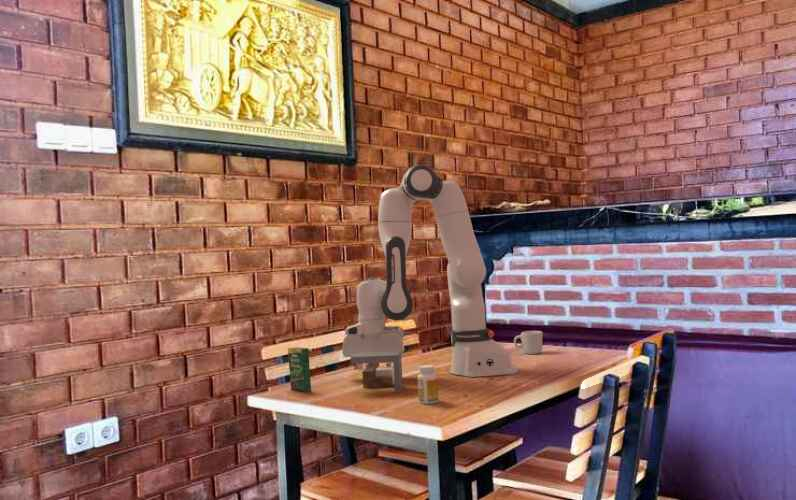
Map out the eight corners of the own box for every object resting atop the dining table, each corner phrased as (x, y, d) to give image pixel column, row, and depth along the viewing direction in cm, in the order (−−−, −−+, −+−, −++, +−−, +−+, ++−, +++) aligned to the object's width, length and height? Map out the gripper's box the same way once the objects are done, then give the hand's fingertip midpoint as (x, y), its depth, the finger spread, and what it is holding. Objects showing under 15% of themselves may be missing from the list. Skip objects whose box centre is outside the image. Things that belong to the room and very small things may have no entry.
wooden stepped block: (397, 376, 214) (396, 361, 214) (392, 386, 198) (391, 370, 198) (370, 377, 215) (369, 362, 215) (363, 387, 199) (362, 371, 199)
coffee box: (289, 389, 203) (287, 347, 203) (297, 387, 205) (295, 346, 205) (303, 392, 197) (301, 349, 197) (311, 390, 198) (309, 348, 198)
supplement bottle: (441, 399, 177) (439, 364, 177) (435, 404, 172) (433, 368, 172) (422, 399, 179) (420, 364, 179) (416, 404, 174) (414, 367, 174)
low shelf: (402, 387, 196) (400, 350, 196) (400, 392, 188) (398, 355, 188) (357, 388, 198) (355, 352, 198) (352, 394, 190) (350, 357, 190)
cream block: (394, 382, 205) (393, 366, 205) (392, 385, 200) (391, 369, 200) (378, 382, 205) (377, 367, 205) (376, 386, 200) (375, 370, 200)
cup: (514, 355, 241) (513, 334, 241) (514, 352, 249) (513, 331, 249) (544, 354, 239) (543, 333, 239) (543, 351, 247) (541, 330, 247)
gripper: (404, 324, 215) (407, 365, 215) (343, 327, 217) (346, 368, 217) (402, 326, 209) (405, 369, 209) (340, 330, 211) (343, 372, 211)
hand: (374, 369), depth 213 cm, fingers open, 8 cm apart
